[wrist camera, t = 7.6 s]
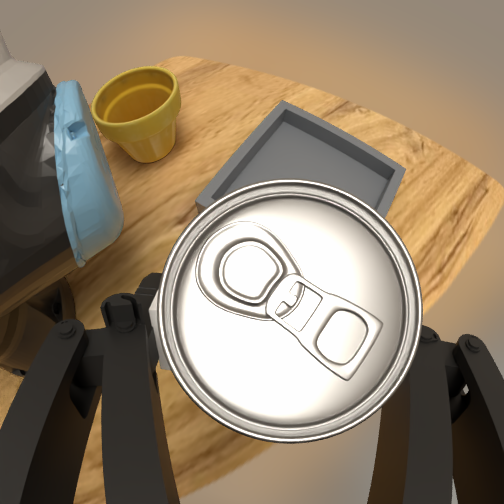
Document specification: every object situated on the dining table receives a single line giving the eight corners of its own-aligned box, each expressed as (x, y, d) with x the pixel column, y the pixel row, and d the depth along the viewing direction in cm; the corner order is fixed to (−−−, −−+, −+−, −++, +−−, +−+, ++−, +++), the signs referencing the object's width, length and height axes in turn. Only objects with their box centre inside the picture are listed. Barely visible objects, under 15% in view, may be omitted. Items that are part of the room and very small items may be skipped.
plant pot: (170, 105, 40) (157, 54, 31) (203, 148, 37) (193, 94, 28) (108, 139, 38) (82, 93, 29) (132, 189, 36) (103, 142, 26)
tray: (199, 213, 35) (194, 200, 31) (279, 116, 39) (282, 100, 36) (337, 299, 32) (346, 294, 29) (395, 181, 37) (406, 169, 33)
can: (252, 257, 19) (260, 119, 7) (339, 318, 18) (472, 266, 6) (186, 343, 17) (80, 330, 6) (276, 408, 16) (330, 507, 4)
